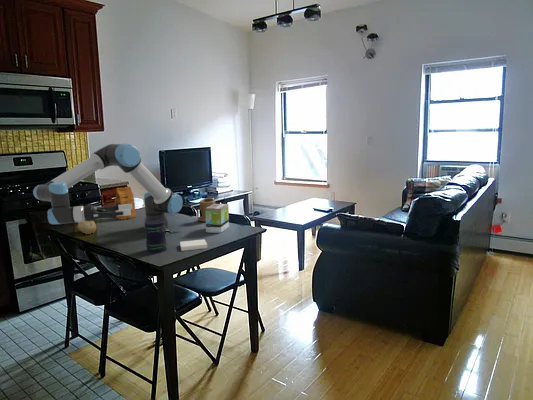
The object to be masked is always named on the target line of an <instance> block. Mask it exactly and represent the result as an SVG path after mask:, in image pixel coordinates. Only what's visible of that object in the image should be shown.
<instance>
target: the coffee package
mask: <svg viewBox="0 0 533 400" xmlns="http://www.w3.org/2000/svg"><path fill="white" fill-rule="evenodd" d="M115 204H118V205H124V204H132V209H130V210H131V215H127V216H117V217H116V218H118V219H117V220H119V219H125V220H131V219H134V218H136V216H137V215H136V205H135V197H134V193H133V191H132V187H131V186H130V185H129V186H125V187H116V196H115V197H114V205H115ZM116 211H117V210H116ZM116 211H115V212H116ZM116 218H115V219H116ZM130 218H131V219H130Z"/></svg>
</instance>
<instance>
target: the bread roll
mask: <svg viewBox="0 0 533 400" xmlns="http://www.w3.org/2000/svg"><path fill="white" fill-rule="evenodd" d="M77 229H78V230H79V231H80V232H81V233H83V234H84V233H85V234H84V235H87V234H90V235H92V234H91V233H93V234H94V233H95V232H96V230H97V225H96V222H95V220H94V221H86V220H85V221H84V222H80V223H78V224H77Z"/></svg>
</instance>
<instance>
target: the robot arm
mask: <svg viewBox="0 0 533 400" xmlns="http://www.w3.org/2000/svg"><path fill="white" fill-rule="evenodd" d="M140 154H141V153H140V150H139V149H138V148H137V147H136V146H135V145H133V144H129V143H116V144H115V143H111V144H107V145H105V146H103V147H101V148H99V149H97V150H96V151H94V152H92V153H91V154H90V157H89V158H86V159H85V160H83V161H81V162H80V163H78V164H77V165H75V166H73V167H72V168H70V169H68V170H66V171H64V172H63V173H61V174H60V175H58V176H57V177H55V178H53V179H51V180H49V181H47V182H46V183H43V184H38V185H36V186H35V187H34V188H33V192H32V194H33V196H34V197H35V199H37V200H40V201H41V202H50V204H51V208H49V209H48V210H47V220H48V223H49V224H51V225H63V224H65V225H66V224H73V223H74V224H75V223H78V224H79V223H80V222H84V221H85V220H86V221H94V222H95V219H116V217H117V216H127V215H131V210H130V209H132V204H124V205H118V204H115V203H114V204H110V205H106V206H105V205H103V206H97V207H96V208H95V207H94V205H92V204H89V205H85V206H84V205H79V206H71V203H70V198H69V197H70V196H69V189H70V188H71V187H73V186H75V185H76V184H78V183H79V182H81V181H82V180H84V179H85V178H87V177H89V176H90V175H92V174H93V173H95V172H97V171H98V170H100V171H101V170H104V169H105V168H107V167H112V166H113V167H114V166H115V167H118V168H120V169H121V170H122V171H123V172H124V173H126V174H127V173H128V174H130V176H131V177H132V178H133V179H135V180H136V181H137V183H139V185H141V187H143V189H144V190H146V192H145V193H144V196H143V197H144V198H143V200H144V212H145V218H144V223H143V229H144V230H145V222H146V221H149V220H164V221H165V229H167V228H169V227H170V225H169V224H170V223H169V221H168V218H167V215H166V214H169V215H172V214H173V215H175V214H178V213H179V212H180V211H181V210H182V208H183V197H182V196H181V195H179V194H177V193H174V192H173V191H172V190H171V189H170V188H168V187H164V185H163V184H162V183H161V182H160V180H158V179H157V178H156V177H155V175H154V174H153V173H152V172H151V171H150V170H149V169H148V168H147V167H146V166H145V165H144V164H143V163H142V157H141V155H140ZM116 210H117V211H116ZM115 211H116V212H115Z"/></svg>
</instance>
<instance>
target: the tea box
mask: <svg viewBox="0 0 533 400" xmlns="http://www.w3.org/2000/svg"><path fill="white" fill-rule="evenodd" d="M205 212H206V221H205V232H206V233H211V234H213V233H216V234H222V233H223V232H224V231H225V230H226V229H228V228H230V217H229V214H230V213H229V204H228V203H225V204H224V203H215V204H213V205H211V206H209V207H207V208H205Z"/></svg>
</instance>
